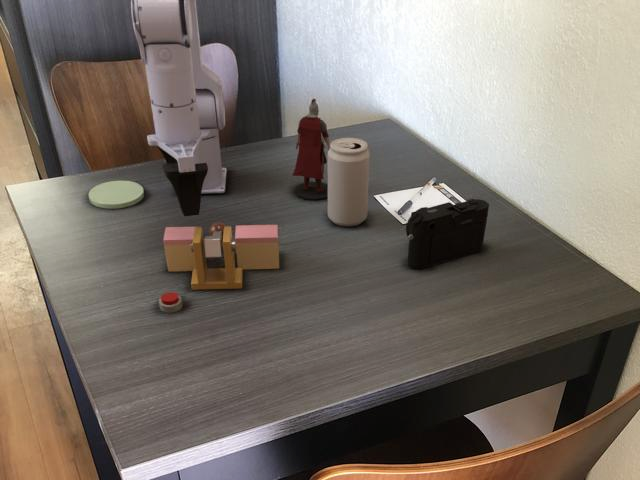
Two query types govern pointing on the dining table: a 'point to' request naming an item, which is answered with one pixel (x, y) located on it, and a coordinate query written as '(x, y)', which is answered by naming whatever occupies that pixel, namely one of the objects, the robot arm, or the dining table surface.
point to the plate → (116, 194)
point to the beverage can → (348, 181)
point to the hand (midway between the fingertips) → (187, 202)
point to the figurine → (311, 155)
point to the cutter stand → (219, 276)
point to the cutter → (214, 240)
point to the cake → (257, 246)
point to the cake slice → (179, 248)
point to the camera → (446, 232)
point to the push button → (170, 302)
